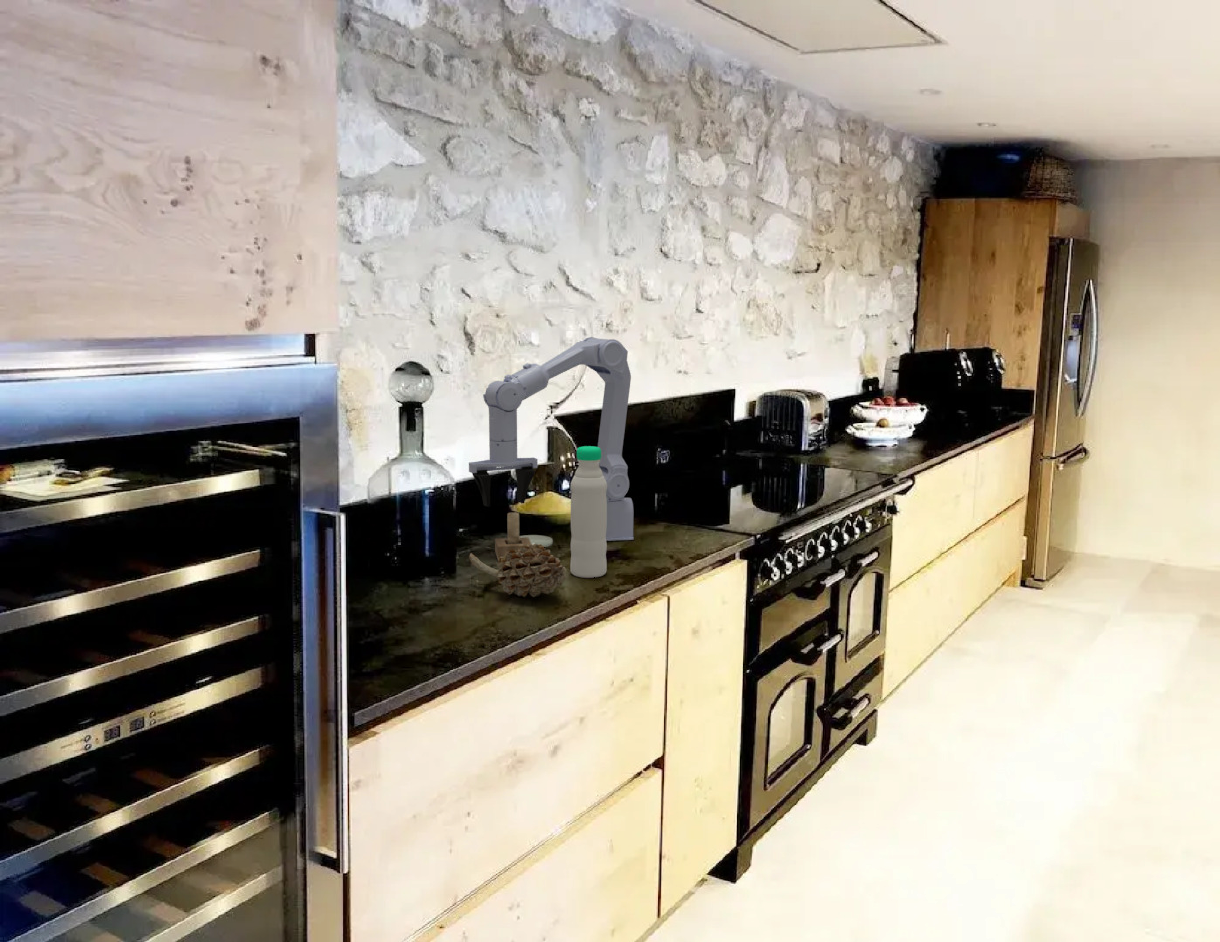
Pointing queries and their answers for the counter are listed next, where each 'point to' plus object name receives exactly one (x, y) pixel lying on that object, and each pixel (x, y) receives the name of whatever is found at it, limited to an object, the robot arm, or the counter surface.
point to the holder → (508, 546)
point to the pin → (513, 527)
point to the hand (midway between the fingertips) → (503, 504)
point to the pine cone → (526, 570)
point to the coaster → (539, 540)
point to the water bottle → (588, 515)
